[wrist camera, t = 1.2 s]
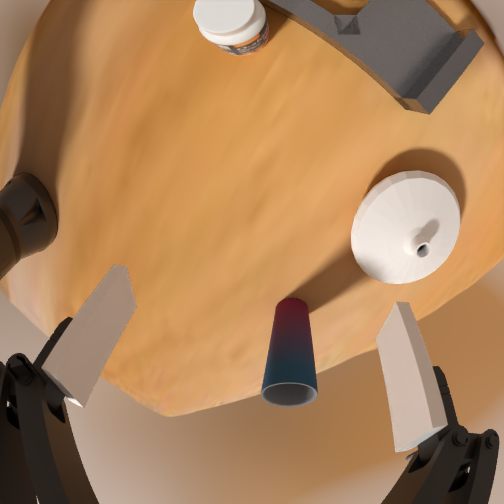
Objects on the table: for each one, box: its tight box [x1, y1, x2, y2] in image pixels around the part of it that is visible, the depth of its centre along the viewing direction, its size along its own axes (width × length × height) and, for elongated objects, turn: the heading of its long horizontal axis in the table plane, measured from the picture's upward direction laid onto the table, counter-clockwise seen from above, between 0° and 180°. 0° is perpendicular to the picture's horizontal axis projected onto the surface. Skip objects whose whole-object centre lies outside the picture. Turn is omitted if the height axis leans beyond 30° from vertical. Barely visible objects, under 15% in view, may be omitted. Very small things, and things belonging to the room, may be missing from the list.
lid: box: [351, 170, 461, 284], centre depth 28 cm, size 16×16×7 cm
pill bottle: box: [193, 0, 270, 56], centre depth 17 cm, size 6×6×10 cm
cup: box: [261, 298, 318, 407], centre depth 35 cm, size 7×7×15 cm
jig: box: [258, 0, 484, 115], centre depth 15 cm, size 22×13×6 cm, turn 56°
